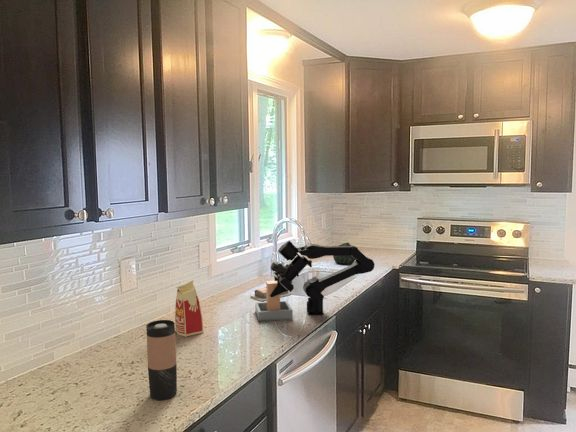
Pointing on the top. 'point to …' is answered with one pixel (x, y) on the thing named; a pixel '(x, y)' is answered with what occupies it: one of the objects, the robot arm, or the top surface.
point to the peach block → (272, 302)
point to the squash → (344, 257)
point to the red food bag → (188, 311)
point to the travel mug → (162, 359)
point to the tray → (273, 312)
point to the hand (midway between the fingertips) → (269, 294)
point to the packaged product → (265, 294)
